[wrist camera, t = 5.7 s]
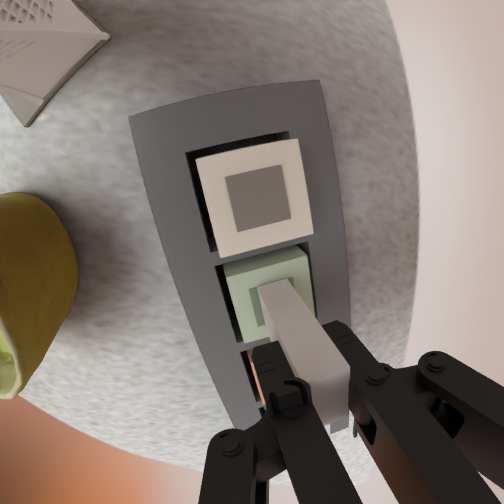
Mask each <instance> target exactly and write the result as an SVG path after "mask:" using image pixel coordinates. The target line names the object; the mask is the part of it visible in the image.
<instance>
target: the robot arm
mask: <svg viewBox="0 0 504 504" xmlns="http://www.w3.org/2000/svg"><path fill="white" fill-rule="evenodd" d="M257 290H258V294H259V298H260V303H261V307H262V311H263V316H264V320H265V324H266V329H267V333H268V335H269V338H270V340H271V342H270V343H267V344H263V345H260V346H256V347H254V349H253V352H252V356H251V358H252V361H253V365H254V368H255V371H256V375H257V378H258V381H259V385H260V388H261V391H262V394H263V398H264V401H265V404H266V410H265V413H264V415H263V417H262V418H261V419H260V420H259V421H258V422H257V423H256V424H254V425H253V426H251V427H249V428H247V429H246V430H244V431H243V430H241V429H234V428H232V429H226V430H223V431H221V432H219V433H217V434H216V435H215V436H214V437H213V438H212V439H211V441H210V443H209V445H208V450H207V456H206V461H205V467H204V473H203V479H202V485H201V490H200V496H199V502H198V504H269V479H271V478H273V477H274V476H276V475H278V474H279V473H281V472H282V471H284V470H286V469H287V471H288V474H289V477H290V479H291V482H292V485H293V488H294V491H295V494H296V496H297V499H298V502H299V504H363V503H362V501H361V499H360V497H359V496H358V493H357V491H356V489H355V488H354V485H353V483H352V481H351V479H350V477H349V475H348V473H347V471H346V469H345V467H344V465H343V463H342V461H341V459H340V457H339V455H338V453H337V451H336V449H335V447H334V445H333V443H332V441H331V439H330V437H329V435H328V433H327V431H326V429H325V427H324V426H325V425H328V424H331V423H333V422H336V421H338V420H341V419H343V418H346V417H348V416H349V409H350V411H351V412H352V414H353V416H354V426H353V435H354V438H355V437H357V432H358V433H359V435H360V437H361V439H362V440H363V442H364V444H365V445H366V447H367V449H368V451H369V452H370V454H371V456H372V458H373V459H374V461H375V463H376V465H377V466H378V468H379V470H380V471H381V473H382V475H383V477H384V478H385V480H386V482H387V484H388V485H389V487H390V489H391V490H392V492H393V494H394V496H395V497H396V499H397V501H398V503H399V504H501V502H500V501H499V500H498V498H497V497H496V496H495V494H494V493H493V492H492V490H491V489H490V488H489V486H488V485H487V484H486V482H485V481H484V480H483V478H482V477H481V476H480V474H479V473H478V472H480V473H481V474H482V475H484V476H485V477H487V478H488V479H489V480H491V481H492V482H494V483H495V484H496V485H498V486H499V487H501V488H502V489H503V490H504V387H503V386H501V385H499V384H498V383H496V382H494V381H493V380H491V379H489V378H487V377H486V376H484V375H482V374H481V373H479V372H477V371H475V370H474V369H472V368H470V367H468V366H467V365H465V364H463V363H462V362H460V361H458V360H457V359H455V358H453V357H452V356H450V355H448V354H446V353H444V352H441V351H431V352H427V353H426V354H424V355H422V356H421V358H420V359H419V361H418V365H415V366H410V367H406V368H398V369H394V368H392V367H391V366H390V365H388V364H385V363H379V362H378V361H377V360H376V359H375V358H374V357H373V355H372V354H371V353H370V352H369V351H368V349H367V348H366V347H365V346H364V345H363V343H362V342H361V341H360V340H358V337H357V336H356V335H355V334H353V332H352V330H351V329H350V328H349V327H348V326H347V325H346V324H344V323H342V322H340V321H338V320H335V321H333V322H330V323H327V324H324V325H320V324H319V322H318V321H317V319H316V318H315V317H314V315H313V314H312V312H311V311H310V310H309V308H308V307H307V305H306V304H305V303H304V301H303V300H302V298H301V297H300V296H299V294H298V293H297V292H296V290H295V289H294V287H293V286H292V285H291V283H290V282H289V280H288V279H284V280H280V281H277V282H273V283H270V284H266V285H262V286H259V287H257ZM477 471H478V472H477Z"/></svg>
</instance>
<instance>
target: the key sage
mask: <svg viewBox="0 0 504 504" xmlns="http://www.w3.org/2000/svg"><path fill="white" fill-rule="evenodd" d="M222 265H223V269H224V272H225V276H226V280H227V284H228V287H229V291H230V294H231V298H232V302H233V305H234V309H235V312H236V316H237V319H238V323H239V326H240V330H241V333H242V337H243V340H244V343H248V342H252V341H255V340H259V339H263V338H266V337H269V335H268V333H267V329H266V324H265V320H264V316H263V311H262V307H261V303H260V298H259V294H258V290H257V287H259V286H262V285H266V284H270V283H273V282H277V281H280V280H284V279H288V280H289V282H290V283H291V285H292V286H293V287H294V289H295V290H296V292H297V293H298V294H299V296H300V297H301V298H302V300H303V301H304V303H305V304H306V305H307V307H308V308H309V310H310V311H311V312H312V314H313V315H314V317H315V313H314V304H313V296H312V288H311V280H310V273H309V265H308V258H307V255H306V254H305V253H304V252H303V251H302V250H301V249H300V248H299V247H298V246H297V245H296V244H295V245H292V246H288V247H284V248H280V249H277V250H273V251H269V252H265V253H262V254H258V255H254V256H250V257H247V258H243V259H239V260H235V261H232V262H228V263H224V264H222Z"/></svg>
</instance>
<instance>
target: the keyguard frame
mask: <svg viewBox="0 0 504 504" xmlns="http://www.w3.org/2000/svg"><path fill="white" fill-rule="evenodd" d="M129 122H130V127H131V131H132V136H133V140H134V144H135V149H136V153H137V157H138V161H139V165H140V169H141V173H142V177H143V181H144V185H145V188H146V192H147V196H148V199H149V203H150V206H151V210H152V213H153V217H154V220H155V224H156V227H157V230H158V233H159V237H160V240H161V243H162V246H163V249H164V253H165V256H166V259H167V262H168V265H169V268H170V271H171V274H172V277H173V279H174V282H175V285H176V288H177V291H178V294H179V296H180V299H181V302H182V305H183V307H184V310H185V313H186V316H187V318H188V321H189V323H190V326H191V329H192V331H193V334H194V336H195V339H196V341H197V344H198V346H199V349H200V351H201V354H202V356H203V359H204V361H205V363H206V366H207V368H208V370H209V373H210V375H211V377H212V380H213V382H214V384H215V386H216V389H217V391H218V393H219V395H220V398H221V400H222V402H223V404H224V406H225V409H226V411H227V413H228V415H229V417H230V419H231V421H232V423H233V425H234V427H235V429H241V430H243V431H244V430H246V429H247V428H249V427H251V426H253V425H254V424H256V423H257V422H258V421H259V420H260V419H261V418H262V415H261V412H260V409H259V408H261V407H264V406H266V404H264V405H263V403H262V399H261V396H260V393H259V390H258V387H257V383H256V380H255V377H253V378H249V375H248V372H247V369H246V366H245V363H244V360H243V356H242V353H241V352H242V351H246V350H249V349H253V348H254V347H256V346H260V345H263V344H267V343H270V342H271V340H270V338H269V337H266V338H263V339H259V340H255V341H252V342H248V343H244V340H243V337H242V333H241V330H240V326H239V323H238V319H237V318H235V319H232V320H231V317H230V314H229V310H228V307H227V304H226V300H225V297H224V293H223V290H222V286H221V283H220V279H219V276H218V272H217V269H216V266H217V265H220V264H224V263H228V262H232V261H235V260H239V259H243V258H247V257H250V256H254V255H258V254H262V253H265V252H269V251H273V250H277V249H280V248H284V247H288V246H292V245H295V244H296V245H297V246H298V247H299V248H300V249H301V250H302V251H303V252H304V253H305V254H306V255H307V258H308V265H309V273H310V280H311V288H312V296H313V304H314V313H315V318H316V319H317V321H318V322H319V324H320V325H324V324H327V323H330V322H333V321H335V320H338V321H340V322H342V323H344V324H346V325H347V326H348V327H349V328H350V329H351V325H350V297H349V279H348V264H347V252H346V240H345V230H344V221H343V212H342V204H341V196H340V188H339V181H338V174H337V168H336V161H335V155H334V149H333V143H332V138H331V132H330V127H329V122H328V117H327V112H326V107H325V102H324V98H323V93H322V89H321V84H320V80H310V81H297V82H287V83H278V84H270V85H262V86H255V87H249V88H242V89H236V90H231V91H225V92H220V93H215V94H210V95H206V96H201V97H197V98H193V99H188V100H184V101H180V102H177V103H173V104H169V105H165V106H162V107H158V108H155V109H151V110H148V111H145V112H142V113H139V114H135V115H132V116H129ZM271 134H275V138H276V141H281V140H289V139H297V138H298V143H299V148H300V153H301V158H302V164H303V169H304V175H305V181H306V187H307V193H308V199H309V205H310V212H311V218H312V225H313V232H314V234H311V235H307V236H303V237H299V238H296V239H292V240H288V241H284V242H280V243H277V244H273V245H269V246H265V247H262V248H258V249H254V250H250V251H246V252H243V253H239V254H235V255H231V256H228V257H224V258H220V255H219V251H218V247H217V243H216V240H215V236H214V237H210V238H208V236H207V232H206V228H205V224H204V221H203V217H202V213H201V209H200V205H199V201H198V197H197V193H196V189H195V185H194V181H193V177H192V173H191V169H190V165H189V161H188V157H187V153H189V152H193V151H197V150H201V149H205V148H209V147H213V146H217V145H222V144H226V143H230V142H235V141H240V140H245V139H250V138H255V137H260V136H265V135H271ZM348 425H349V416H348V417H346V418H343V419H341V420H338V421H336V422H333V423H331V424H330V434H332V433H335V432H337V431H340V430H342V429H345V428H347V427H348Z"/></svg>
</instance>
